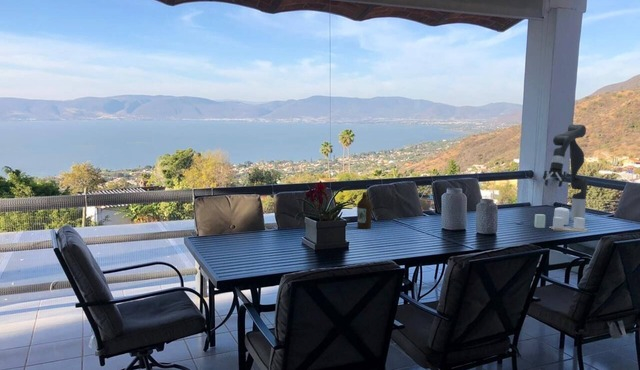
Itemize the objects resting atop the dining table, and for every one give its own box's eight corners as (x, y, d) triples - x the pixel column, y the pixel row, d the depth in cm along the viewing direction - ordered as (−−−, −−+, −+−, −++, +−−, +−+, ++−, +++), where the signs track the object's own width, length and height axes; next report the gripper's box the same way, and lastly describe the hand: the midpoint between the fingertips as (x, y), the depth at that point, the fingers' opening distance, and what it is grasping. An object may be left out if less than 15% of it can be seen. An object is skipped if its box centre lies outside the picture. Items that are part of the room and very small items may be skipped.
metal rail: (551, 227, 347) (551, 226, 347) (583, 228, 346) (583, 227, 346) (553, 228, 343) (553, 227, 343) (586, 229, 342) (586, 228, 342)
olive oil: (361, 225, 354) (362, 191, 351) (374, 227, 348) (375, 192, 345) (353, 228, 345) (354, 192, 342) (366, 230, 339) (367, 194, 336)
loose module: (534, 226, 355) (534, 214, 354) (542, 226, 355) (543, 214, 354) (536, 227, 351) (536, 215, 350) (544, 227, 351) (545, 215, 350)
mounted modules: (552, 226, 348) (553, 216, 347) (580, 227, 347) (581, 217, 346) (556, 228, 342) (556, 218, 341) (584, 228, 341) (585, 218, 340)
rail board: (549, 227, 350) (549, 226, 350) (581, 228, 349) (581, 227, 349) (554, 230, 341) (554, 229, 340) (587, 231, 339) (588, 230, 339)
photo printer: (552, 223, 367) (553, 207, 365) (555, 222, 370) (556, 206, 368) (566, 225, 359) (568, 208, 357) (569, 224, 362) (570, 208, 360)
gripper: (570, 165, 334) (565, 188, 331) (548, 164, 344) (543, 186, 342) (566, 162, 329) (562, 185, 326) (544, 161, 339) (540, 183, 336)
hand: (552, 186), depth 334 cm, fingers open, 8 cm apart
